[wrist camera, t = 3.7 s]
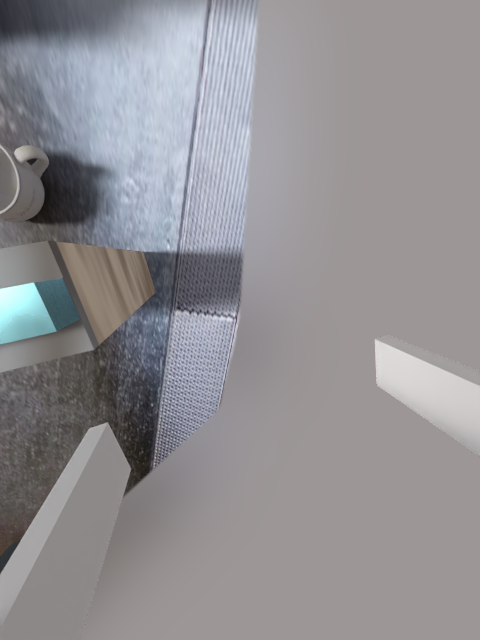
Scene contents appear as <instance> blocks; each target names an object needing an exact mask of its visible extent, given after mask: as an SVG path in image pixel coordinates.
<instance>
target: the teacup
mask: <svg viewBox="0 0 480 640" xmlns="http://www.w3.org/2000/svg"><path fill="white" fill-rule="evenodd" d="M33 158H38V159H37V160H36V162H35V163H34V164H32V165H30V164H29V163H28V162H27V160H29V159H33ZM48 165H49V160H48V157H47V156H46V154H45V153H44V152H43V151H42V150H41V149H40V148H38V147H35V146H30V145H27V146H22V147H19V148H17V149H16V150H15V152H14V151H12V150H11V149H9V148H7V147H6V146H4V145H3V144H1V143H0V220H1V221H8V222H19V221H25V220H28V219H30V218H32V217H34V216H35V215H36V214H37V213H38V212H39V211H40V210H41V208H42V206H43V203H44V196H45V195H44V188H43V184H42V182H41V179H40V177H41V176H42V173H43V172H44V171H45V170H46V168H47V167H48Z"/></svg>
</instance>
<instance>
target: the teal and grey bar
mask: <svg viewBox="0 0 480 640" xmlns="http://www.w3.org/2000/svg"><path fill="white" fill-rule="evenodd" d="M79 319H80V317H79V314H78V312H77V310H76V307H75V305H74V303H73V300H72V298H71V296H70V293H69V291H68V289H67V286H66V284H65V282H64V279H63V278H60V279H54V280H47V281H41V282H34V283H29V284H24V285H19V286H14V287H9V288H4V289H0V344H4V343H9V342H13V341H17V340H22V339H26V338H30V337H35V336H39V335H44V334H48V333H52V332H57V331H59V330H61V329H62V328H64V327H66V326H68V325H70V324H72V323H73V322H75V321H77V320H79Z"/></svg>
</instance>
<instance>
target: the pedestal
mask: <svg viewBox="0 0 480 640" xmlns="http://www.w3.org/2000/svg"><path fill="white" fill-rule="evenodd" d="M60 278H63V279H64V282H65V284H66V286H67V289H68V291H69V293H70V296H71V298H72V300H73V303H74V305H75V307H76V310H77V312H78V314H79V317H80V319H79V320H77V321H75V322H73V323H72V324H70V325H68V326H66V327H64V328H62V329H61V330H59V331H57V332H52V333H48V334H44V335H39V336H35V337H30V338H26V339H22V340H17V341H13V342H9V343H4V344H0V372H4V371H8V370H12V369H16V368H20V367H25V366H29V365H33V364H37V363H41V362H45V361H49V360H53V359H57V358H62V357H66V356H70V355H74V354H78V353H82V352H86V351H90V350H94V349H95V348H96V347H97V346H98V345H100V344H101V343H102V342H103V341H104V340H105V339H106V338H107V337H108V336H109V335H110V334H111V333H113V332H114V331H115V330H116V329H117V328H118V327H119V326H120V325H121V324H122V323H123V322H124V321H125V320H127V319H128V318H129V317H130V316H131V315H132V314H133V313H134V312H135V311H136V310H137V309H138V308H140V307H141V306H142V305H143V304H144V303H145V302H146V301H147V300H148V299H149V298H150V297H151V296H153V295H154V294H155V293H156V291H155V288H154V284H153V281H152V278H151V275H150V272H149V268H148V265H147V262H146V259H145V255H144V252H140V251H132V250H123V249H115V248H106V247H97V246H89V245H80V244H72V243H63V242H54V241H43V242H37V243H31V244H26V245H20V246H15V247H9V248H3V249H0V289H4V288H9V287H14V286H19V285H24V284H29V283H34V282H41V281H47V280H54V279H60Z"/></svg>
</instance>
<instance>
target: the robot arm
mask: <svg viewBox="0 0 480 640" xmlns="http://www.w3.org/2000/svg"><path fill="white" fill-rule="evenodd" d="M375 354H376V355H375V356H376V376H377V377H376V379H377V385H378V386H379V387H380V388H382V389H383V390H385V391H386V392H388V393H389V394H391V395H392V396H393V397H395V398H396V399H398V400H399V401H401V402H402V403H403V404H405V405H406V406H408V407H409V408H411V409H412V410H414V411H415V412H416V413H418V414H419V415H421V416H422V417H424V418H425V419H427V420H428V421H430V422H431V423H432V424H434V425H435V426H437V427H438V428H440V429H441V430H442V431H444V432H446V433H447V434H448V435H450V436H451V437H453V438H454V439H456V440H457V441H458V442H460V443H461V444H463V445H464V446H466V447H467V448H468V449H470V450H471V451H473V452H474V453H476V454H477V455H478V456H480V371H478V370H475V369H473V368H470V367H468V366H465V365H462V364H460V363H457V362H455V361H452V360H450V359H447V358H445V357H442V356H440V355H437V354H435V353H432V352H429V351H427V350H425V349H422V348H420V347H417V346H415V345H412V344H410V343H407V342H404V341H402V340H399V339H397V338H394V337H392V336H389V335H386V336H383V337H380V338H377V339H375ZM130 471H131V468H130V466H129V464H128V462H127V460H126V458H125V456H124V454H123V452H122V450H121V448H120V446H119V444H118V442H117V440H116V438H115V436H114V434H113V432H112V430H111V428H110V426H109V424H108V423H105V424H102V425H99V426H95V427H92V428H89V430H88V432H87V433H86V435H85V437H84V438H83V440H82V441H81V443H80V445H79V446H78V448H77V450H76V451H75V453H74V455H73V456H72V458H71V459H70V461H69V463H68V464H67V466H66V468H65V469H64V471H63V472H62V474H61V476H60V477H59V479H58V481H57V482H56V484H55V486H54V487H53V489H52V490H51V492H50V494H49V495H48V497H47V499H46V500H45V502H44V504H43V505H42V507H41V508H40V510H39V512H38V513H37V515H36V517H35V518H34V520H33V522H32V523H31V525H30V526H29V528H28V530H27V531H26V533H25V535H24V536H23V538H22V540H21V541H18V542H15V543H12V544H11V545H10V546H9V547H8V549H7V550H6V551H5V552H4V553H3V554H2V555H1V556H0V640H80V639H81V636H82V632H83V629H84V625H85V622H86V619H87V616H88V612H89V609H90V605H91V602H92V599H93V595H94V592H95V588H96V585H97V581H98V578H99V575H100V572H101V568H102V565H103V562H104V558H105V555H106V551H107V548H108V545H109V541H110V538H111V534H112V531H113V528H114V525H115V521H116V518H117V514H118V511H119V508H120V504H121V501H122V498H123V494H124V491H125V488H126V484H127V481H128V477H129V474H130Z"/></svg>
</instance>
